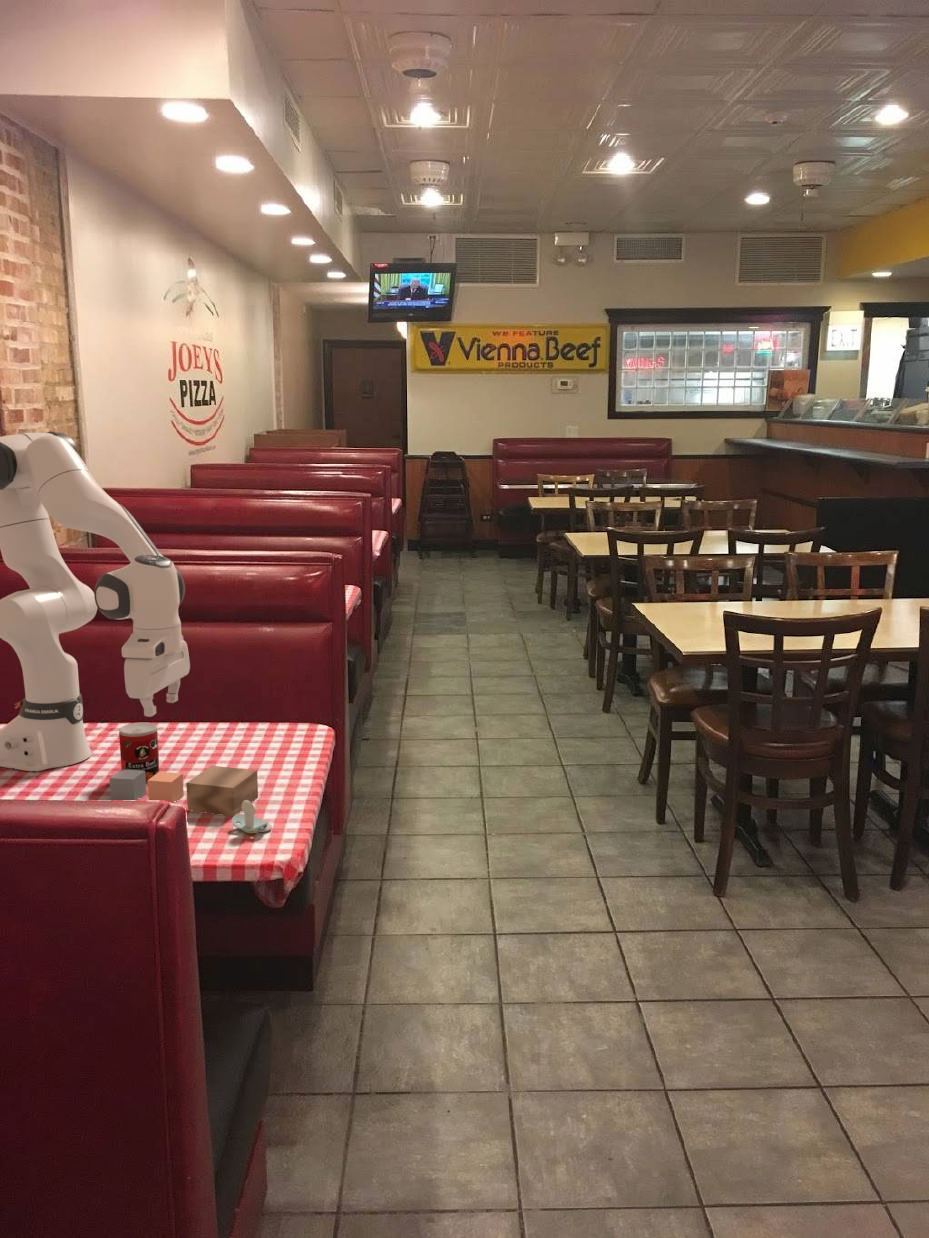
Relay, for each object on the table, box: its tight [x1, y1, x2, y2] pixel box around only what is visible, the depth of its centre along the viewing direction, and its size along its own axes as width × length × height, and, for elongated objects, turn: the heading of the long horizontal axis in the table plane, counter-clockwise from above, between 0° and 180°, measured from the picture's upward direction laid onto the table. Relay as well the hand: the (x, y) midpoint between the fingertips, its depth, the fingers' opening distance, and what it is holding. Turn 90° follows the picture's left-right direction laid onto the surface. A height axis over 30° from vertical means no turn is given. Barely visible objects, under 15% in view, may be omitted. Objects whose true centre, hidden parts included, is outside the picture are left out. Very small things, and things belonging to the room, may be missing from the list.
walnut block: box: [185, 765, 259, 817], centre depth 188 cm, size 10×10×6 cm
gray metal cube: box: [109, 769, 148, 801], centre depth 190 cm, size 5×5×5 cm
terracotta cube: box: [147, 771, 185, 804], centre depth 189 cm, size 5×5×5 cm
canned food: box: [118, 721, 160, 783], centre depth 201 cm, size 8×8×11 cm
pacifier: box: [231, 800, 273, 834], centre depth 176 cm, size 7×6×6 cm
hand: (161, 708), depth 186 cm, fingers open, 8 cm apart
